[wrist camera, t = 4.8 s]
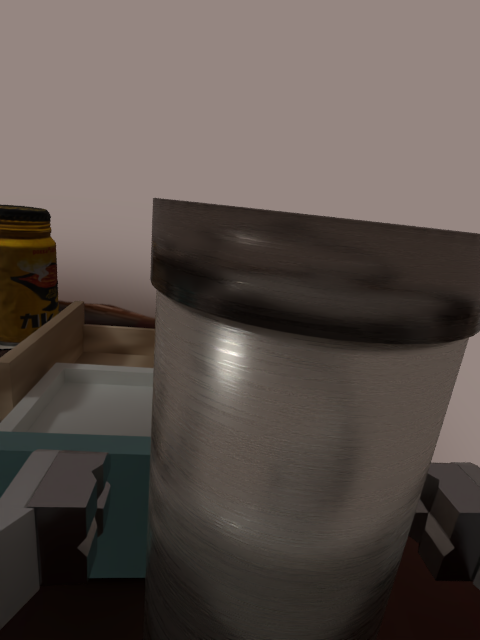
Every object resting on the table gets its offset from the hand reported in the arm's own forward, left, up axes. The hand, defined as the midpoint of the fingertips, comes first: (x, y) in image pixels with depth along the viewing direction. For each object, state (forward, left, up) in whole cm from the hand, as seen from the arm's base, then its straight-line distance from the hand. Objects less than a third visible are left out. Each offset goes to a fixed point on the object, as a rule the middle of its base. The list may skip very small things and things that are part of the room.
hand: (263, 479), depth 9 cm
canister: (0, -1, -8) cm, 8 cm away
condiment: (-19, +28, -8) cm, 35 cm away
